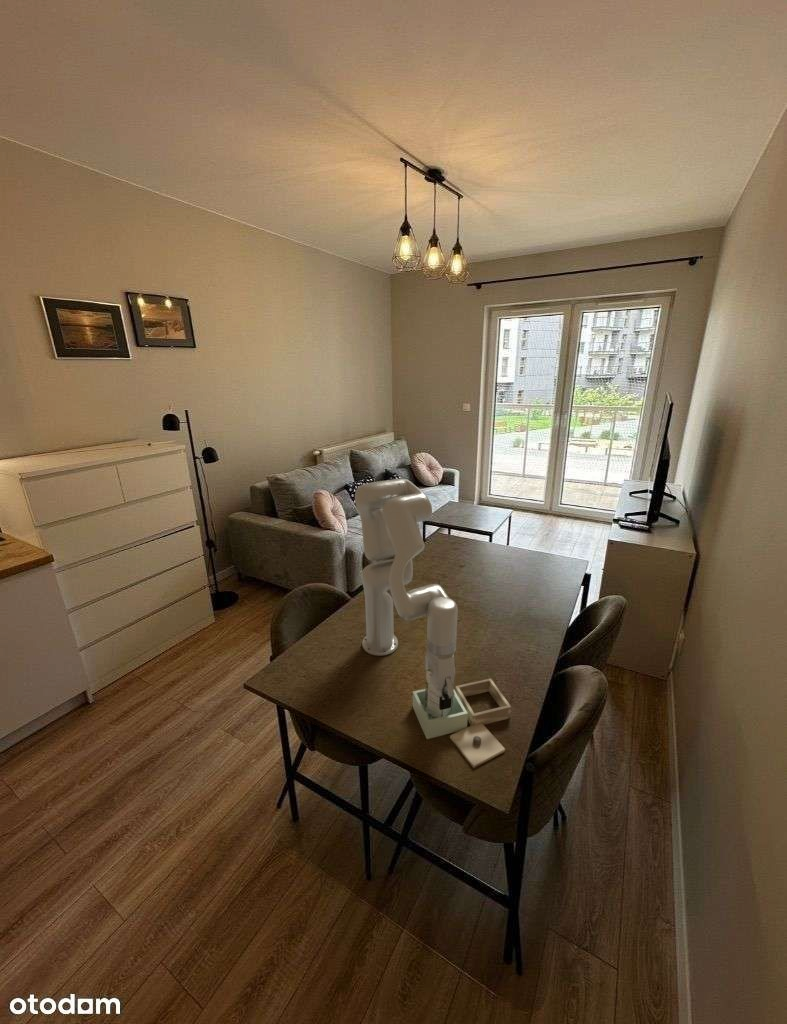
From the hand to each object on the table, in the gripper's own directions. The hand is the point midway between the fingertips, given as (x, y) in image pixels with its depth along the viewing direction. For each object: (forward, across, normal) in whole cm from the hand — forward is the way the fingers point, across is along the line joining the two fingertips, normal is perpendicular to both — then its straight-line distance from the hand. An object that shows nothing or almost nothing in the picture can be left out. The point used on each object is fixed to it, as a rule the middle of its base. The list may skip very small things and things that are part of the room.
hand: (439, 696), depth 114 cm
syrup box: (+5, 0, 0) cm, 5 cm away
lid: (+7, +11, +6) cm, 15 cm away
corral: (+7, 0, +13) cm, 15 cm away
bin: (+7, 0, 0) cm, 7 cm away
